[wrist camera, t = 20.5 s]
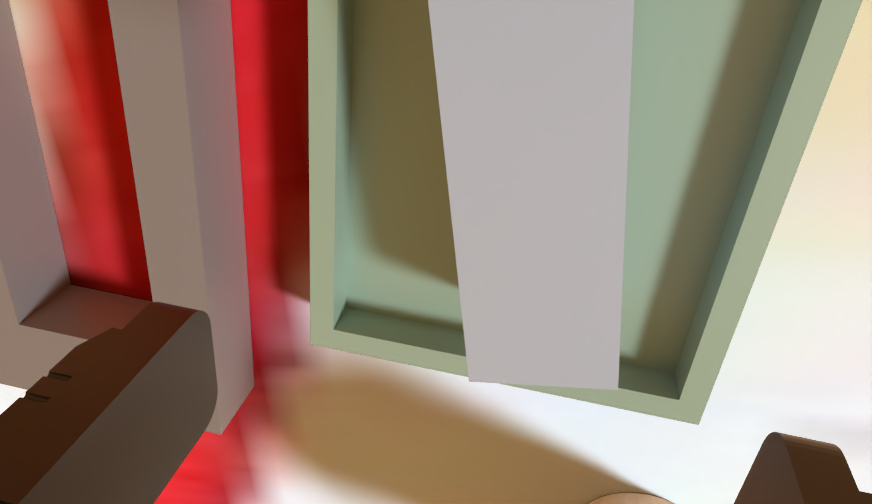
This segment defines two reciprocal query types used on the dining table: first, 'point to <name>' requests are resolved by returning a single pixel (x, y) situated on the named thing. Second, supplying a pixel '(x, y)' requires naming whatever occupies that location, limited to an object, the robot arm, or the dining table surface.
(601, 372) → the tall grey bar
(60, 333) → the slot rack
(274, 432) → the dining table surface
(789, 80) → the tray
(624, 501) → the coffee cup
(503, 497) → the dining table surface
